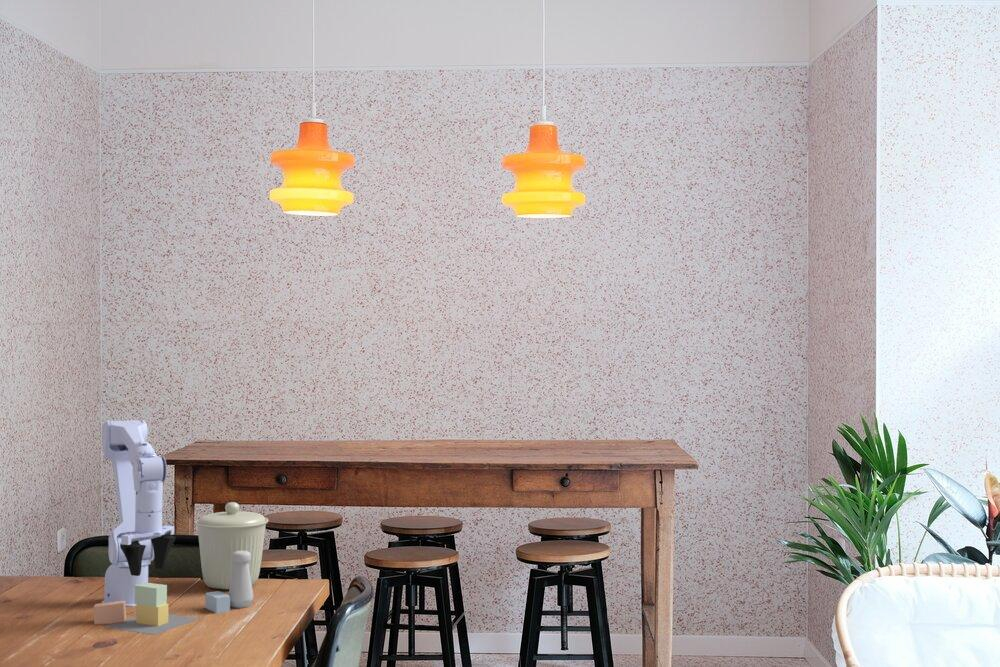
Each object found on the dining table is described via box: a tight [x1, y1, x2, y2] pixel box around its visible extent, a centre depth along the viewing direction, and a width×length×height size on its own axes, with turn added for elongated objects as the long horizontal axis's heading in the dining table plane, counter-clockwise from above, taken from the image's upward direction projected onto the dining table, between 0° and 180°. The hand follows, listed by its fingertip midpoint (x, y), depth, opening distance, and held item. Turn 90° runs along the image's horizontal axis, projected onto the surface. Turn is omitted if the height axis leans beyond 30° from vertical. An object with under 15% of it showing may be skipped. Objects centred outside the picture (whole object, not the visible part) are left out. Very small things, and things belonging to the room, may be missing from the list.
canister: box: [194, 501, 269, 591], centre depth 253 cm, size 18×18×21 cm
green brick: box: [135, 582, 168, 607], centre depth 216 cm, size 6×3×4 cm, turn 67°
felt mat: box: [103, 613, 200, 636], centre depth 215 cm, size 14×14×1 cm
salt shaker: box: [227, 551, 254, 609], centre depth 231 cm, size 6×6×13 cm
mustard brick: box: [135, 603, 170, 626], centre depth 215 cm, size 6×3×4 cm, turn 67°
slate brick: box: [204, 590, 231, 614], centre depth 227 cm, size 6×3×4 cm, turn 40°
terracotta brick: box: [93, 601, 127, 625], centre depth 216 cm, size 6×3×4 cm, turn 104°
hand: (147, 571), depth 223 cm, fingers open, 7 cm apart
